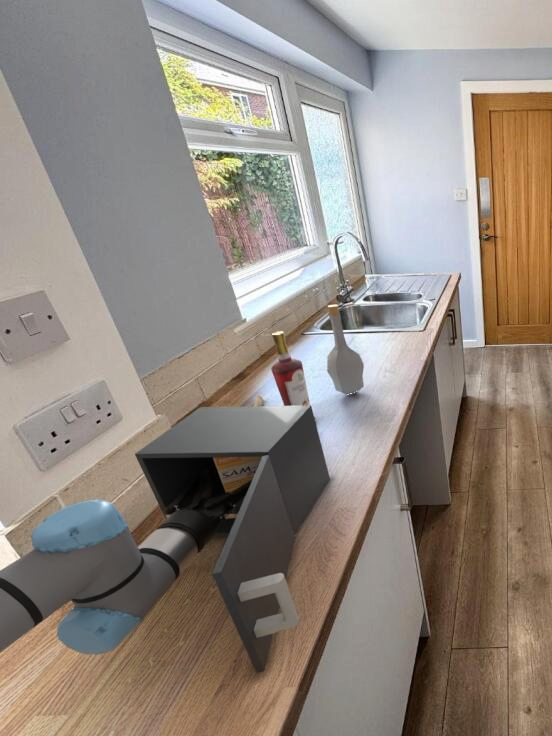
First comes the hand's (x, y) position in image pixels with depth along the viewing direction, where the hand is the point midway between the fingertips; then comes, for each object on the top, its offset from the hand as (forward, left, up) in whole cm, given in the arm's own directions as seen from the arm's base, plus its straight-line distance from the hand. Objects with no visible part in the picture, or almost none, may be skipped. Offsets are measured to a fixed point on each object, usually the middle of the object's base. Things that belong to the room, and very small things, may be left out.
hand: (259, 456), depth 86 cm
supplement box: (+4, -3, -7) cm, 9 cm away
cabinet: (+4, -3, -10) cm, 11 cm away
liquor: (-25, +10, -10) cm, 29 cm away
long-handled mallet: (-33, -2, -10) cm, 35 cm away
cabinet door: (+30, +1, -10) cm, 31 cm away
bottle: (-36, +26, -10) cm, 45 cm away
